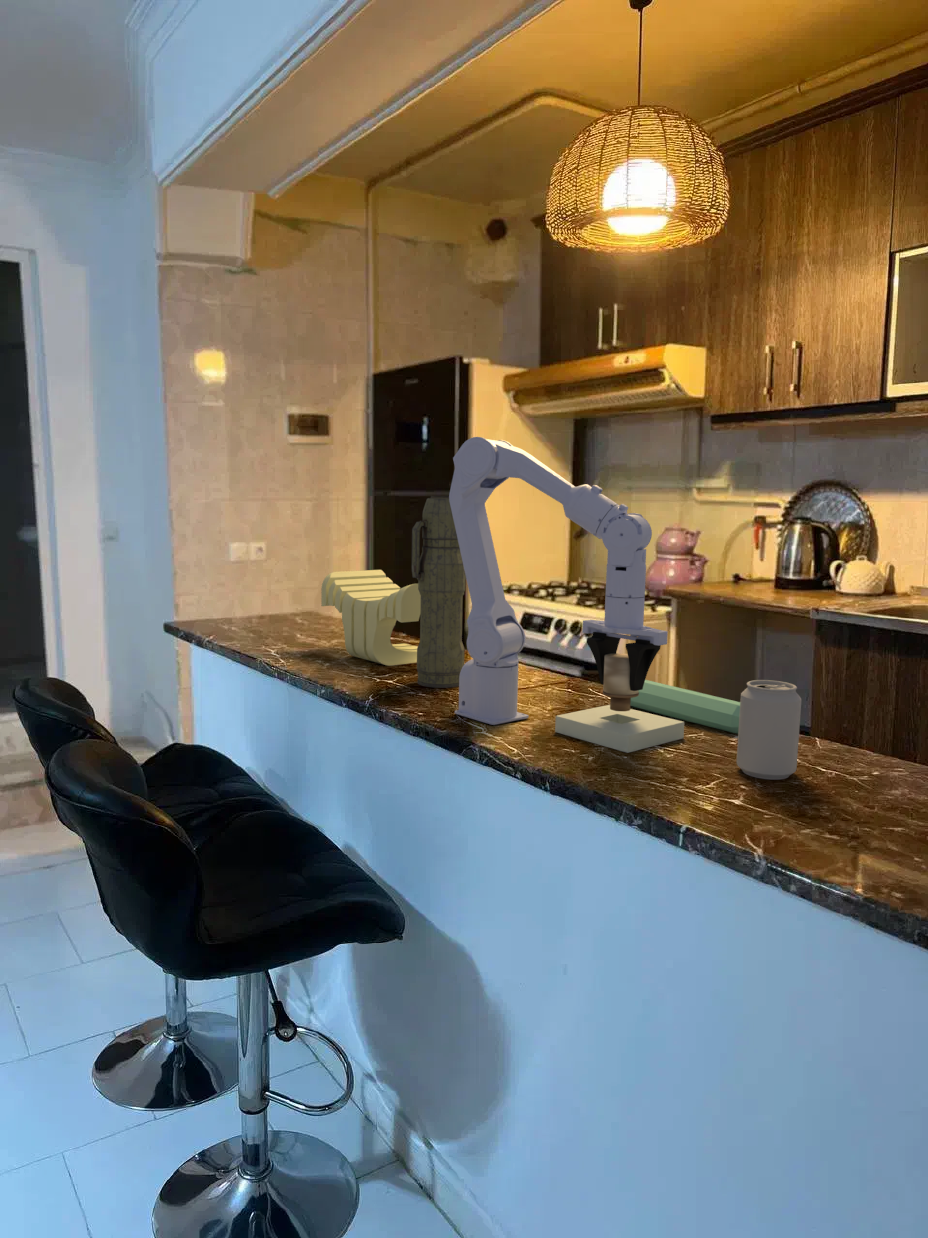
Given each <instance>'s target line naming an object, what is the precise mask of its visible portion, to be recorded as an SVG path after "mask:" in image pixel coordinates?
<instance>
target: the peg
mask: <svg viewBox="0 0 928 1238" xmlns="http://www.w3.org/2000/svg"><path fill="white" fill-rule="evenodd" d="M602 685H603V687H602V688H603V689H602V694H603V695H604V696H607V697H609V698H610V700H609V701H610V703H609V705H610V709H611V710H614V711H629V710H630V709H631V706H630V705H631V698H633V697H637V696H639V690H637V691H631V690H630V666H629V658H628V653H617V652H616V653H615V654H607V655H605V657H604V684H602Z"/></svg>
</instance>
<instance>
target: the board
mask: <svg viewBox="0 0 928 1238" xmlns="http://www.w3.org/2000/svg"><path fill="white" fill-rule="evenodd" d="M554 724H555V726H554V727H555V728H554V732H555V733H558V734H561V735H565V736H568V737H571V738H574V739H578V740H581V741H585V742H589V743H592V744H595V745H599V746H603V747H606V748H608V749H609V748H610V749H614V750H617V751H620V752H623V753H626V754H628V753H632V752H636V751H640V750H643V749H648V748H651V747H655V746H659V745H663V744H666V743H671V742H674V741H678V740H683V739H684V738H685V736H684V735H685V721H684V720H683V721H682V720H680V719H676V718H675V719H674V718H671V717H666V716H661V715H658V714H654V713H653V714H652V713H649V712H645V711H641V710H636V709H633V708H630V710H629V711H614V710H611V709H610V704H607V705H602V706H596V707H592V708H587V709H582V710H578V711H572V712H568V713H562V714H558V715H555V723H554Z"/></svg>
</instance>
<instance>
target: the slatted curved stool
mask: <svg viewBox="0 0 928 1238" xmlns="http://www.w3.org/2000/svg"><path fill="white" fill-rule="evenodd" d="M320 589H321V592H320V594H321V598H320V599H321V603H320V604H321V607H328V606H329V607H334V609H336V610H337V611H338V613H339V614H341V623H342V627H343V635H344V645H345V650H346V652H347V654H348V655H349V656H351V657H355V658H359V659H362V660H366V661H370V662H373V663H376V664H381V665H385V666H389V667H390V666H399V665H407V664H408V665H409V664H417V648H418V646H417V645H412V644H409V643H396V644H395V643H394V644H393V643H392V641H391V636H392V633H393V630H394V628H395V626H396V623H397V621H398V622H399V623H400V624H401V623H411V622H412V623H413V622H419V620H420V610H421V595H420V592H419V590H418V583H412V584H409V585H408V584H407V585H406V586H403V587H400V586H399V585H398V584H396V583H394V582H393V580H392V579H391V578H389V577H388V576H387V575H386V573H385V572H384V571H383V570H382V569H370V570H367V569H365V570H349V571H348V570H346V571H344V570H343V571H332V572H330V573H329V574H327V575H326V576H325V577H324V579H323V581H322V584H321V588H320Z"/></svg>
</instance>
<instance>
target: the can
mask: <svg viewBox="0 0 928 1238" xmlns="http://www.w3.org/2000/svg"><path fill="white" fill-rule="evenodd" d="M746 686H747V687H746V688H744V690H743V691H742V692H740V701H739V702H740V716H739V732H738V733H737V750H736V766H737V767H738V768H740V769H741V771H742V773H744V774H746V775H748V776H750V777H753V778H756V779H760V780H761V779H762V780H772V781H773V780H785V779H788V778H789V777H790V776H791V775H793V774H794V773H795V772H796V771H797V769H798V768H797V766H798V755H799V753H798V752H799V741H800V740H799V739H800V726H801V710H802V698H801V696H800V694H798V693H797V691H796V690H798V687H797V686H796V684H793V683H791V682H790V683H789V682H786V681H779V680H769V679H755V680H750V681H747V682H746Z"/></svg>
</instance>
